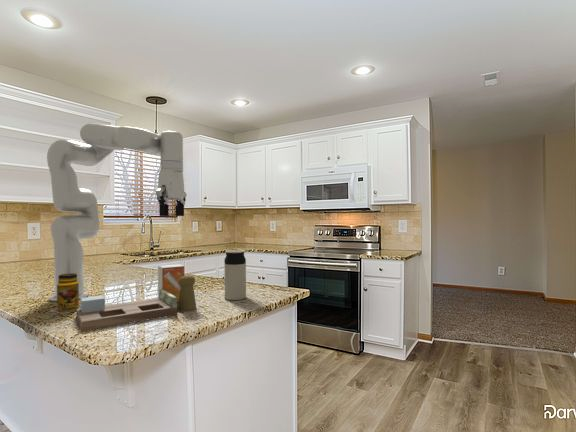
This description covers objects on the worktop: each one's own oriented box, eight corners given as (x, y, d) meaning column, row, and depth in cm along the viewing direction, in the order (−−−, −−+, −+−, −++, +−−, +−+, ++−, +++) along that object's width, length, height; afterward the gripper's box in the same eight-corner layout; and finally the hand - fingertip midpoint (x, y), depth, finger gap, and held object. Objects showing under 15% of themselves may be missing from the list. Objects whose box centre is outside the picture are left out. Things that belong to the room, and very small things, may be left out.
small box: (162, 304, 123) (161, 267, 123) (157, 300, 129) (157, 265, 129) (185, 301, 128) (184, 265, 128) (179, 298, 133) (179, 263, 133)
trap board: (76, 317, 108) (76, 299, 108) (162, 304, 123) (162, 288, 123) (81, 331, 95) (81, 310, 95) (176, 314, 110) (176, 297, 110)
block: (80, 309, 108) (80, 298, 108) (102, 306, 112) (102, 295, 112) (82, 313, 104) (82, 301, 104) (104, 309, 108) (104, 298, 108)
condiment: (66, 314, 112) (66, 276, 112) (46, 312, 115) (46, 275, 115) (85, 308, 119) (85, 273, 119) (66, 306, 122) (66, 272, 122)
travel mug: (232, 301, 127) (231, 252, 127) (220, 298, 133) (220, 250, 133) (250, 298, 132) (249, 250, 132) (238, 294, 138) (238, 249, 138)
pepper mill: (199, 307, 119) (199, 275, 119) (189, 312, 114) (189, 278, 113) (184, 305, 121) (184, 274, 121) (173, 310, 115) (173, 277, 115)
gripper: (176, 170, 132) (176, 216, 132) (146, 164, 116) (147, 216, 116) (193, 170, 130) (194, 215, 130) (167, 163, 114) (167, 216, 114)
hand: (172, 216), depth 123 cm, fingers open, 9 cm apart
